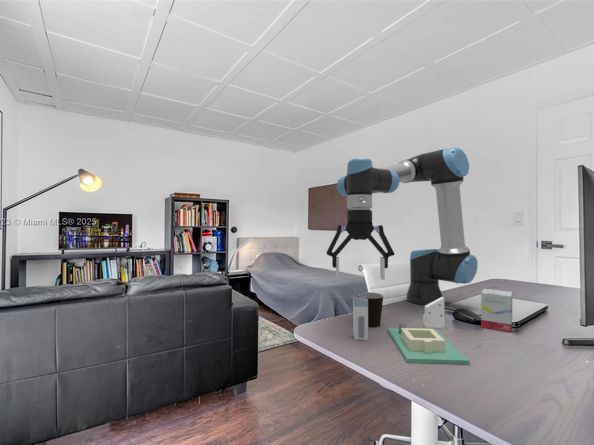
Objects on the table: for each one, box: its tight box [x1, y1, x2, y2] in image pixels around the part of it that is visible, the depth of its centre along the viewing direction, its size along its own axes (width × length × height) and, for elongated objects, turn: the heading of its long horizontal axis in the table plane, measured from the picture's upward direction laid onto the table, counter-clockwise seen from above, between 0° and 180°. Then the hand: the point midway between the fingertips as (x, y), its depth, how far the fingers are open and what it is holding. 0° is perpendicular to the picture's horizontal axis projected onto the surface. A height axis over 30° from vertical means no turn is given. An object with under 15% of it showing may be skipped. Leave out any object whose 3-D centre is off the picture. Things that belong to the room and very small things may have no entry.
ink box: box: [480, 288, 513, 333], centre depth 100 cm, size 9×9×12 cm
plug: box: [352, 296, 369, 341], centre depth 91 cm, size 4×4×12 cm
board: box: [387, 323, 470, 365], centre depth 85 cm, size 22×15×4 cm
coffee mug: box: [356, 291, 384, 328], centre depth 105 cm, size 12×9×10 cm
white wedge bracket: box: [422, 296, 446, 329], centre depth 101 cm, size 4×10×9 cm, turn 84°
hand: (359, 278), depth 91 cm, fingers open, 13 cm apart
